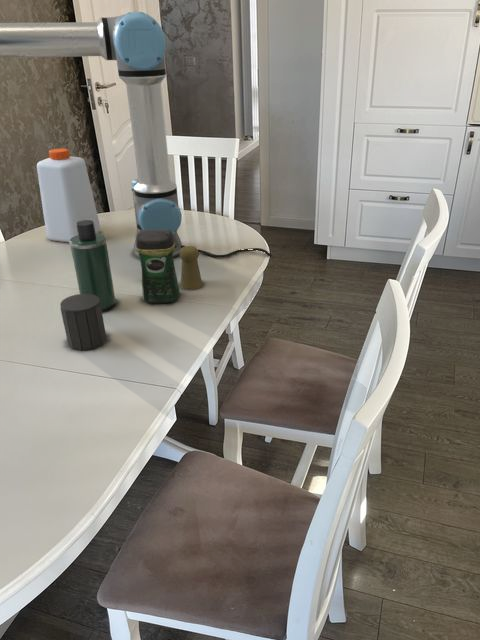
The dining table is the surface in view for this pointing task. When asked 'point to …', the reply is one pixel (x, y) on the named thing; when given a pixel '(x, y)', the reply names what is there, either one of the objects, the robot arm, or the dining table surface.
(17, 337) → the dining table surface
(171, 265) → the coffee jar
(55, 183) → the plastic bottle
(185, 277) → the olive pawn figure
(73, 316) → the grey lidded canister
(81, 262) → the flask
